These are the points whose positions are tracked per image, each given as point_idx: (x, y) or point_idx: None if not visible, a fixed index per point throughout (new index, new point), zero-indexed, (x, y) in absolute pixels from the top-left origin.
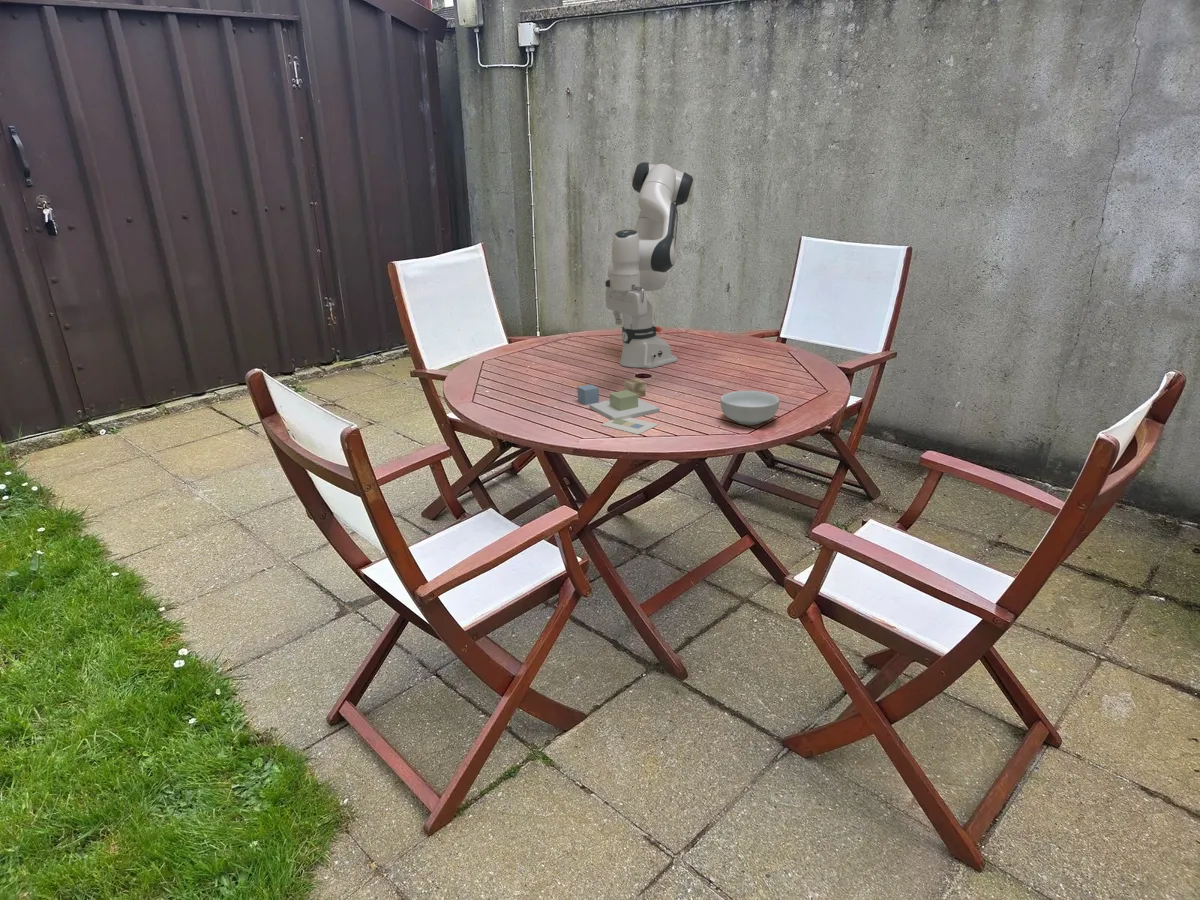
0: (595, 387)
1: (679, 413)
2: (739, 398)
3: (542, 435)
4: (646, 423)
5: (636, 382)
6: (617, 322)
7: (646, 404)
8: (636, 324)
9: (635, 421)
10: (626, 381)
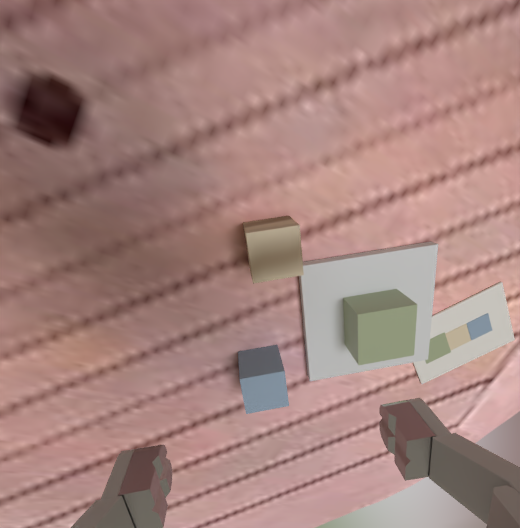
0: (276, 376)
1: (473, 199)
2: None
3: (400, 472)
4: (479, 303)
5: (292, 255)
6: (164, 497)
7: (392, 262)
8: (446, 436)
9: (453, 319)
10: (265, 280)
